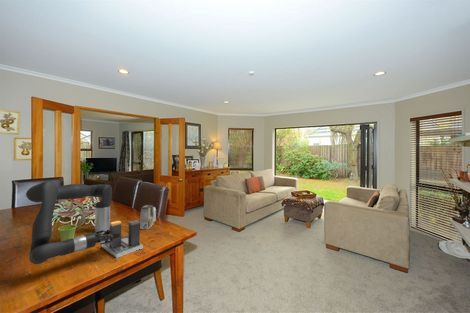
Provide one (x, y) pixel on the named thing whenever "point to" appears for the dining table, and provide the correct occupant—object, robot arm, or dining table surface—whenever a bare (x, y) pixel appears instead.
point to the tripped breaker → (115, 229)
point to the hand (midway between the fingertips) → (116, 233)
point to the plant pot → (67, 232)
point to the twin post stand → (127, 241)
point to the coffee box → (146, 217)
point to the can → (154, 214)
